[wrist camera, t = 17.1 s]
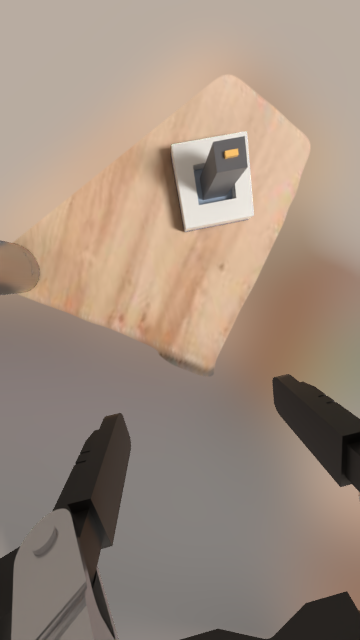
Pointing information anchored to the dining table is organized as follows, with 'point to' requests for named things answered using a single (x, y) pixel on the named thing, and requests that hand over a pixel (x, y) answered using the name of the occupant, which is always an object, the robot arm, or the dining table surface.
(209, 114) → the dining table surface
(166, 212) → the dining table surface
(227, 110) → the dining table surface
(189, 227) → the dock
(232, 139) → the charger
